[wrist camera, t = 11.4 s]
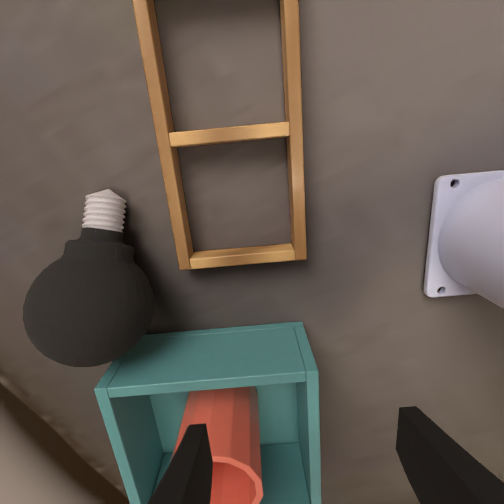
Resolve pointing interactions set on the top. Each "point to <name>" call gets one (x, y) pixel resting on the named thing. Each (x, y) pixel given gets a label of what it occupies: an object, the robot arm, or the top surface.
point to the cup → (229, 441)
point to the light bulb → (91, 293)
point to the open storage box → (217, 377)
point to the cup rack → (173, 140)
